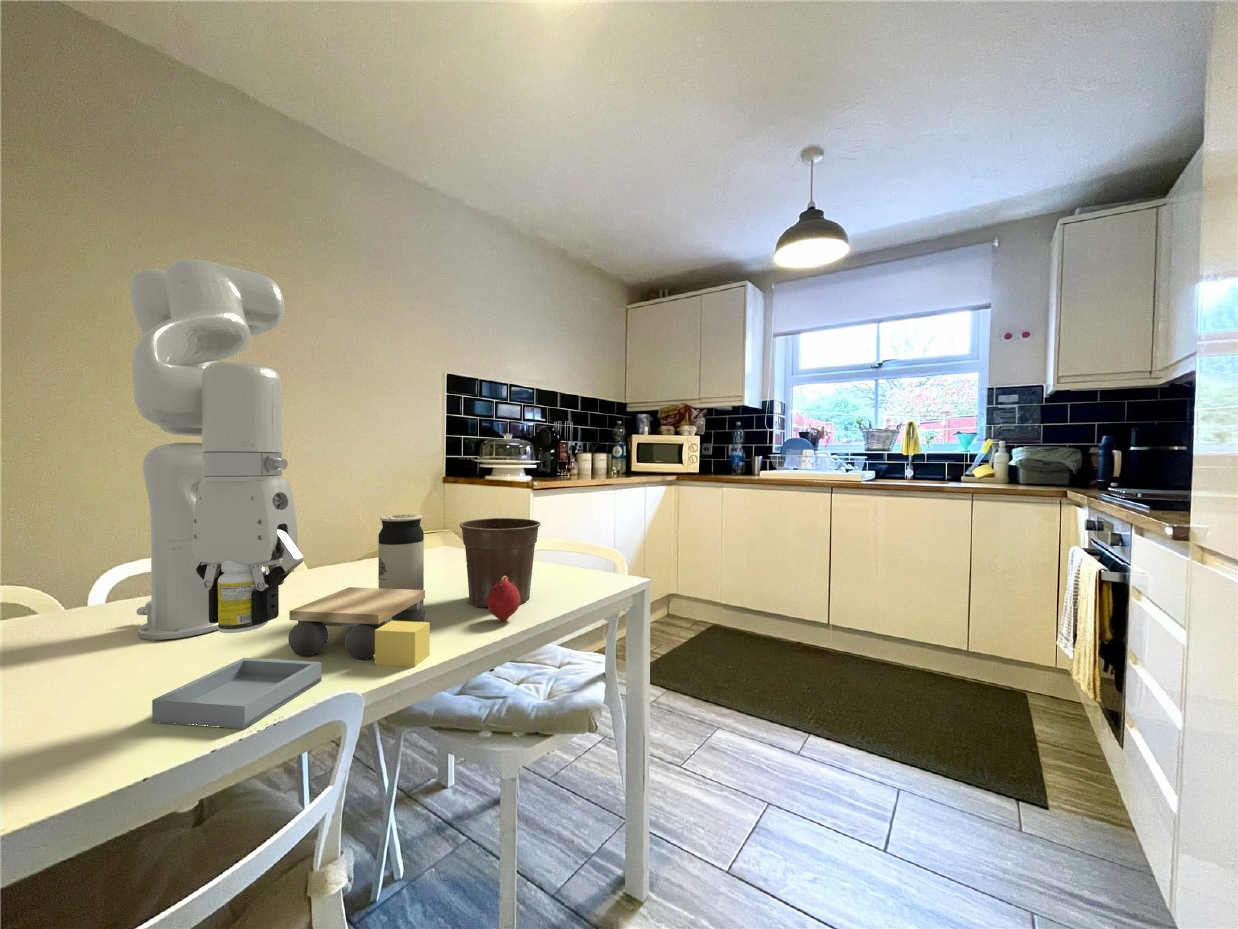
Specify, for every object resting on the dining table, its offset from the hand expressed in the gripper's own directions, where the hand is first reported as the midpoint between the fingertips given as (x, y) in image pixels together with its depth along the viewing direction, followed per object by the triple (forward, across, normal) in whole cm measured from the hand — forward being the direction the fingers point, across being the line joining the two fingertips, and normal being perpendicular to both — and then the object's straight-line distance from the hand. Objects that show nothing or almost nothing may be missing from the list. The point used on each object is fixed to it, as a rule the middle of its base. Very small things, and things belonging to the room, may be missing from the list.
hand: (244, 618), depth 57 cm
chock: (+10, -12, -13) cm, 21 cm away
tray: (+10, 0, 0) cm, 10 cm away
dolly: (+10, -2, -19) cm, 22 cm away
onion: (+10, -21, -31) cm, 39 cm away
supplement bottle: (+1, 0, 0) cm, 1 cm away
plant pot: (+10, -16, -43) cm, 47 cm away
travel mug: (+10, +1, -35) cm, 37 cm away
